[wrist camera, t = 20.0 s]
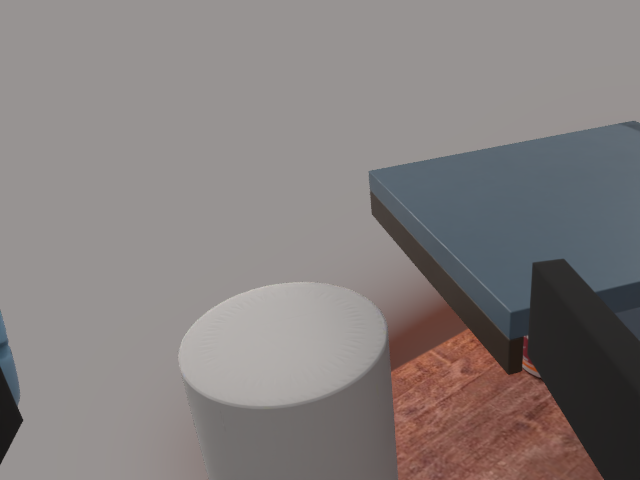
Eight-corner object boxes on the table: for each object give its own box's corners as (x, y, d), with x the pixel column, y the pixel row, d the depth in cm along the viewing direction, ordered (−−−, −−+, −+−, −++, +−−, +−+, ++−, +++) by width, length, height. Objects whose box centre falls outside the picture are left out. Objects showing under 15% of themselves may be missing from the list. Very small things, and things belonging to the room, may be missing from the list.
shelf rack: (495, 697, 32) (510, 312, 21) (390, 471, 46) (368, 170, 35) (775, 596, 35) (911, 215, 24) (596, 413, 49) (633, 120, 38)
